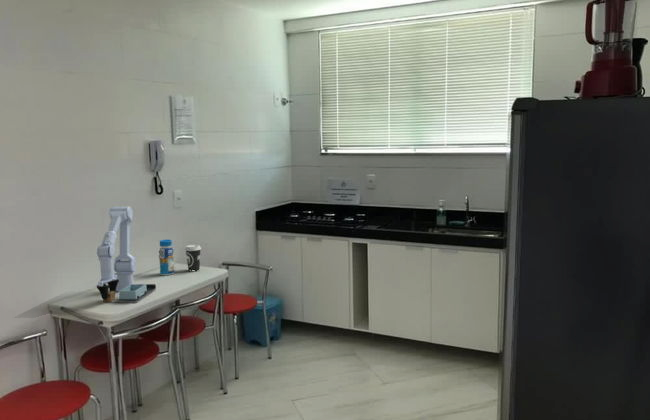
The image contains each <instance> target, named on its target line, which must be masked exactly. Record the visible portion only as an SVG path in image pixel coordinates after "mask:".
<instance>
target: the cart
mask: <svg viewBox="0 0 650 420" xmlns="http://www.w3.org/2000/svg"><path fill="white" fill-rule="evenodd" d="M146 284H147V283H133V284H130V285H129V286H127V287H125V288H123V289H122V290H120V291H118V292H119V293H118V294H119V299H137V298H140V296H142V295H143V294H145V293H147V287H146Z"/></svg>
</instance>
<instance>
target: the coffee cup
mask: <svg viewBox="0 0 650 420" xmlns="http://www.w3.org/2000/svg"><path fill="white" fill-rule="evenodd" d="M201 250H202V247H201V246H200V244H189V245H188V244H187V245H186V246H185V248H184V251H185V255H186V261H187V269H188V271H189V270H191V271H192V270H199V269H200V267H201ZM200 270H201V269H200ZM200 270H199V271H200ZM191 271H190V272H191Z"/></svg>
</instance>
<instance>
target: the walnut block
mask: <svg viewBox="0 0 650 420" xmlns="http://www.w3.org/2000/svg"><path fill="white" fill-rule="evenodd" d="M114 301H116V292H115V291H110V290H108V298H107V299H102V302H103V303H113V302H114Z"/></svg>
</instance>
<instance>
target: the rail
mask: <svg viewBox="0 0 650 420" xmlns="http://www.w3.org/2000/svg"><path fill="white" fill-rule="evenodd" d="M145 284H146V287H147V293H145V294H143V295H142V296H140V298H137V299H120V298H119V299H117V300H116V303H117V304H122V303H124V304H137V303H139V302H140V301H141V300H143V299H145V298H146V297H148V296H149V295H150V294H152V293H153V292H155V291H156V290H157V286H156V284H155V283H145Z"/></svg>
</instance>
